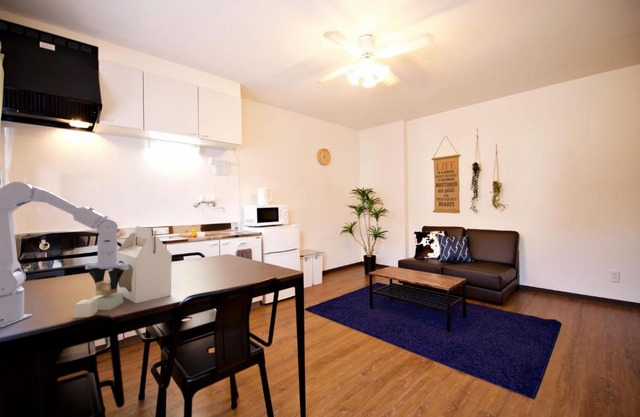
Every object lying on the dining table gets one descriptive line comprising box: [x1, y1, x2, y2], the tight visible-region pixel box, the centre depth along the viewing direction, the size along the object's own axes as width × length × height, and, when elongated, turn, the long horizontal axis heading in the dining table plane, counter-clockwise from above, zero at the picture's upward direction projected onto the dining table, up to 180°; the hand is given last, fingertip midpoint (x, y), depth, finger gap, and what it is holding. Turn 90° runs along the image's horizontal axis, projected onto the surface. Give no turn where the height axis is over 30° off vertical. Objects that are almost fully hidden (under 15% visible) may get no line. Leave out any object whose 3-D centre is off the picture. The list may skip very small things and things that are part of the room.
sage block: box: [90, 292, 124, 311], centre depth 104 cm, size 7×7×4 cm
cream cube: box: [74, 298, 98, 319], centre depth 96 cm, size 4×4×4 cm
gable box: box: [116, 225, 173, 304], centre depth 119 cm, size 22×13×28 cm, turn 52°
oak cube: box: [95, 279, 118, 296], centre depth 104 cm, size 4×4×4 cm
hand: (107, 288), depth 104 cm, fingers closed on oak cube, 4 cm apart
